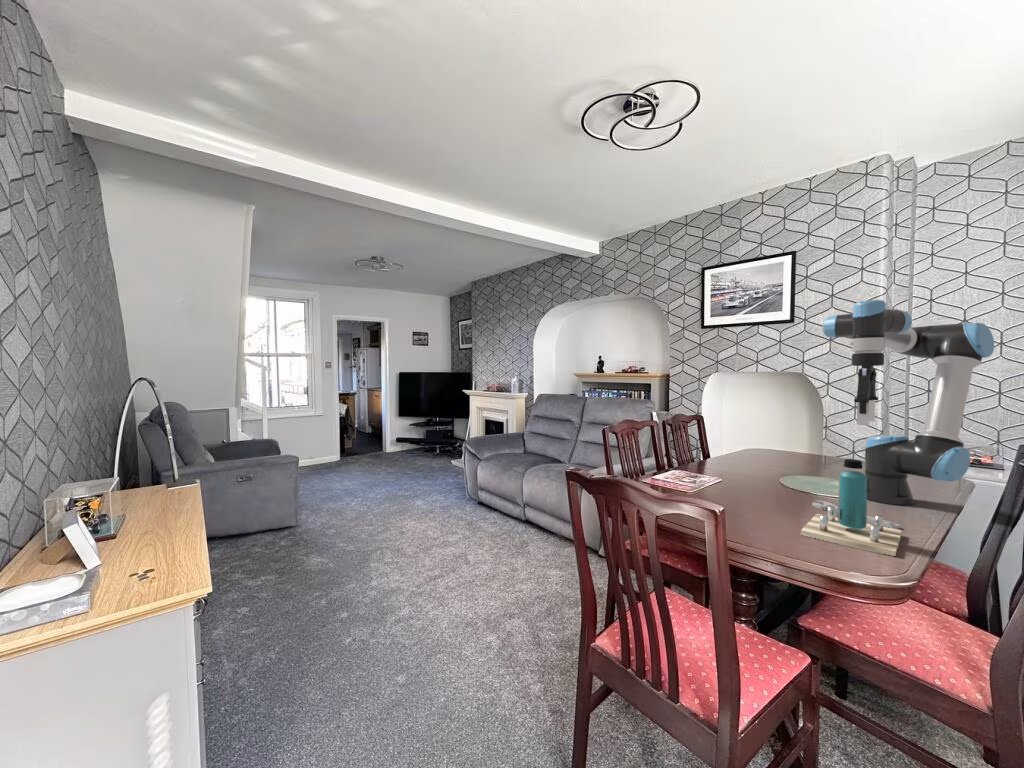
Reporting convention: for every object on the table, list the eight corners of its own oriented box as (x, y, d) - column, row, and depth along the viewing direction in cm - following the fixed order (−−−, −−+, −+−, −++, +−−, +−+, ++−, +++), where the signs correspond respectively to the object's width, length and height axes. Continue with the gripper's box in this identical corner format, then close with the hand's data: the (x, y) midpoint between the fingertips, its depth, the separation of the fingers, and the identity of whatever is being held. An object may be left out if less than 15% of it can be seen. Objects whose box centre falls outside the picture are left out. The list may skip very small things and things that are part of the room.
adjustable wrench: (902, 530, 128) (902, 524, 128) (886, 532, 126) (886, 526, 126) (821, 504, 152) (821, 499, 152) (807, 506, 150) (807, 501, 150)
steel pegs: (828, 519, 131) (828, 506, 131) (883, 530, 122) (883, 516, 122) (819, 530, 122) (819, 516, 122) (878, 543, 113) (878, 527, 113)
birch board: (816, 518, 136) (816, 513, 136) (901, 535, 122) (901, 530, 122) (800, 535, 122) (801, 530, 122) (895, 557, 108) (895, 551, 108)
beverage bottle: (872, 534, 119) (875, 462, 119) (850, 534, 119) (852, 462, 118) (852, 525, 126) (854, 457, 125) (830, 526, 125) (832, 457, 125)
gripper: (858, 354, 142) (856, 418, 142) (845, 351, 124) (843, 425, 125) (888, 353, 136) (886, 420, 137) (879, 351, 119) (877, 428, 120)
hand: (865, 423), depth 131 cm, fingers open, 13 cm apart
